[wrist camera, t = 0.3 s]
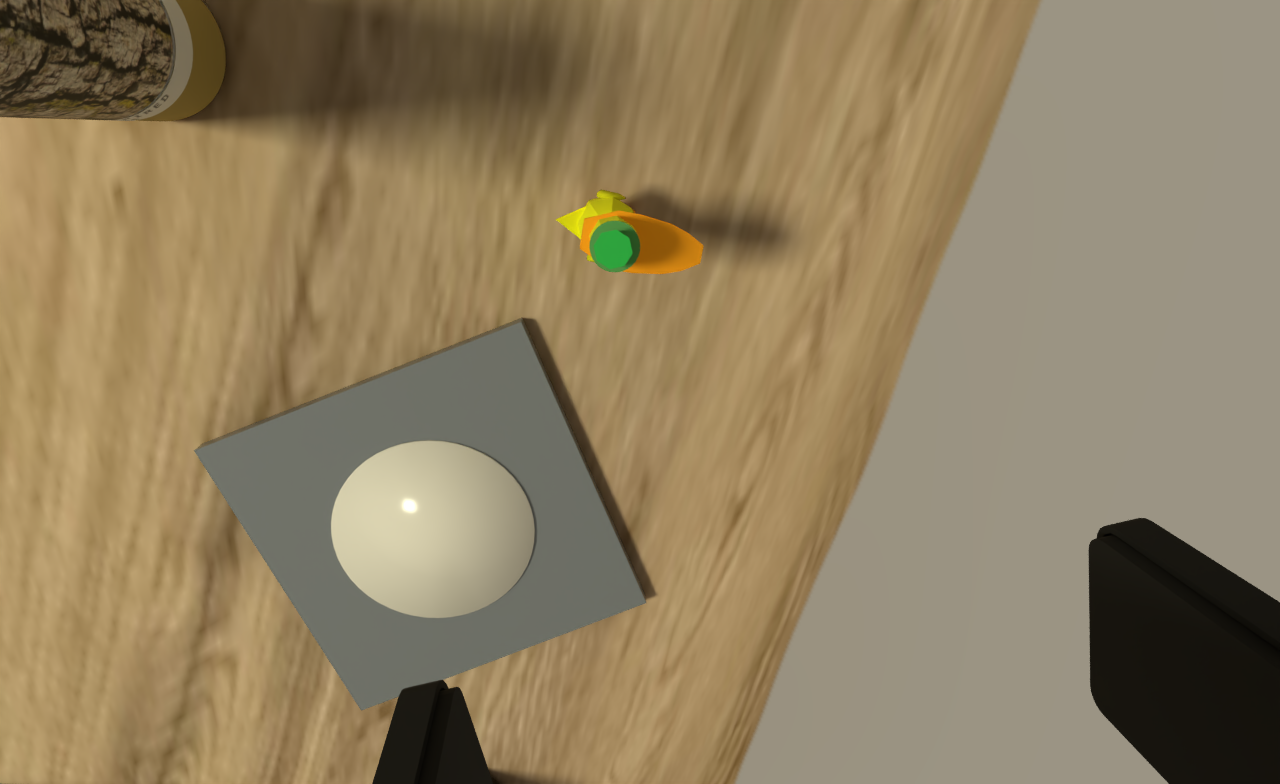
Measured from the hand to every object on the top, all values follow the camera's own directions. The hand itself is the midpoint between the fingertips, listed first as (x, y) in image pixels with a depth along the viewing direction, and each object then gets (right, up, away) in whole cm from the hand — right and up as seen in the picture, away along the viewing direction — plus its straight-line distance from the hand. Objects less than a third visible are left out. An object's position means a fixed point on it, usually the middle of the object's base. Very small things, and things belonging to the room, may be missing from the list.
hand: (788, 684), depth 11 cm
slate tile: (-15, -4, +36) cm, 39 cm away
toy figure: (-3, +14, +31) cm, 34 cm away
